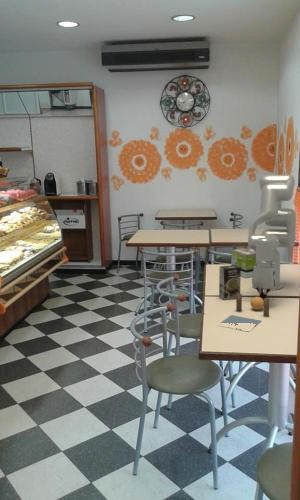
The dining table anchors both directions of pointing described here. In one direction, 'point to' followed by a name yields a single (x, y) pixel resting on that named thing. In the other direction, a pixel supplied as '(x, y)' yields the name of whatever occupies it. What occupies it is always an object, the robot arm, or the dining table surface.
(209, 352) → the dining table surface
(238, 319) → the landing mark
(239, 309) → the post
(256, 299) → the ball
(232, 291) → the coffee box
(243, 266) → the tea box
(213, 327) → the dining table surface
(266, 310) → the post
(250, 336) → the dining table surface
